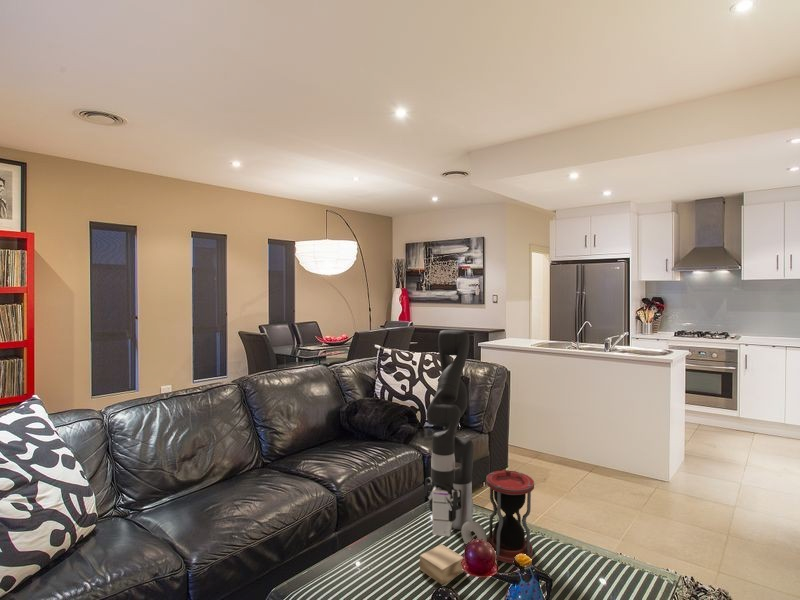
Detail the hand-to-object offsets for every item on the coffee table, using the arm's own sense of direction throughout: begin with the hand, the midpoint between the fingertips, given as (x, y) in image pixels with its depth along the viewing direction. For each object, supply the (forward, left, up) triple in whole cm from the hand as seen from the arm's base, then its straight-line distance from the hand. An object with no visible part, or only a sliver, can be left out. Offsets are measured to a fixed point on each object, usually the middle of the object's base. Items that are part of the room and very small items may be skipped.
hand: (442, 515), depth 153 cm
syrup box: (0, 0, -5) cm, 5 cm away
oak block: (0, 0, -18) cm, 18 cm away
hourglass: (-26, +7, -18) cm, 32 cm away
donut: (-17, -1, -18) cm, 25 cm away
